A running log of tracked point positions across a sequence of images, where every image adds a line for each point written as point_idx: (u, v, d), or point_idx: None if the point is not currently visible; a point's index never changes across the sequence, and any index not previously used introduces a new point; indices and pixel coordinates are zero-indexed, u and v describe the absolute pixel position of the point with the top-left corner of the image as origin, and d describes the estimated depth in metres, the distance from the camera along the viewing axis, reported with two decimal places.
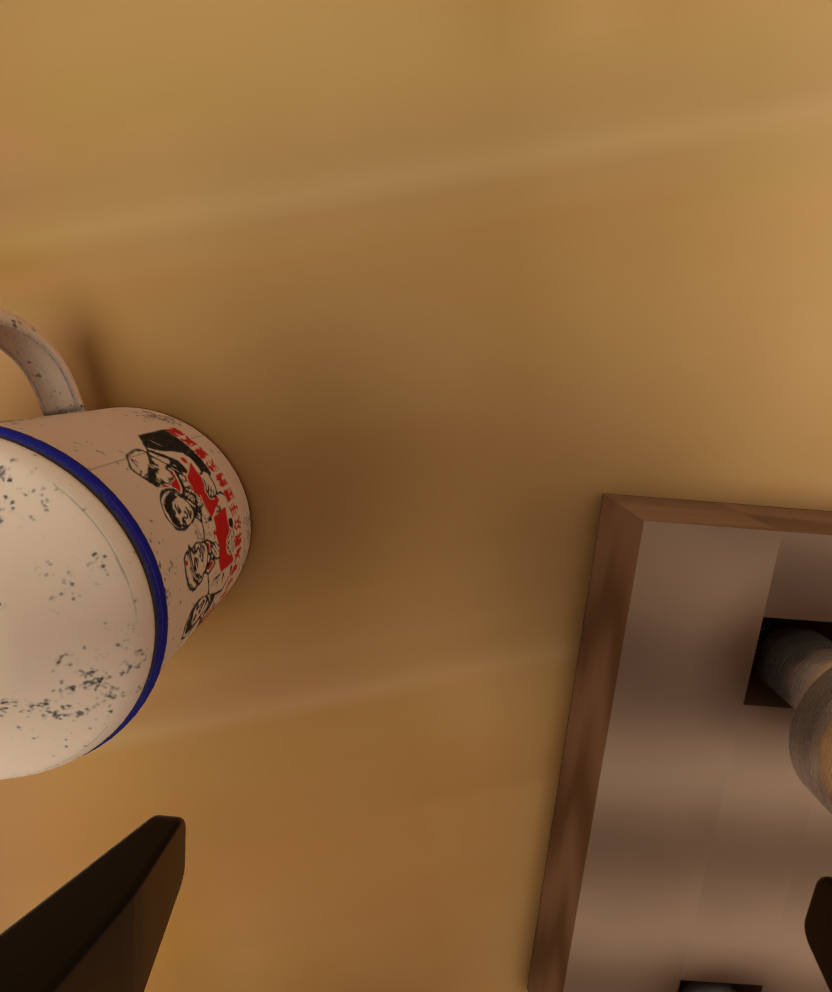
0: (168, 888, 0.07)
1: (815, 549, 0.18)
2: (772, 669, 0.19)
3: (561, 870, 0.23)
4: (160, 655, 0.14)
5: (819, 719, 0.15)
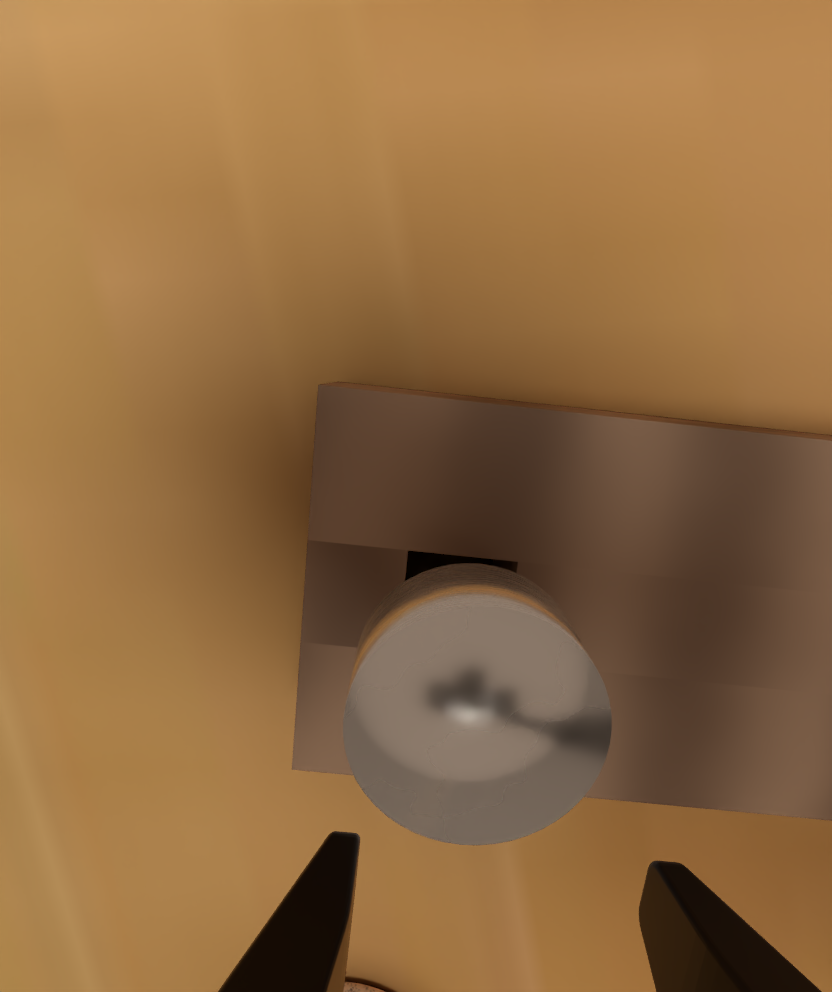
0: None
1: (320, 606, 0.17)
2: None
3: None
4: None
5: None
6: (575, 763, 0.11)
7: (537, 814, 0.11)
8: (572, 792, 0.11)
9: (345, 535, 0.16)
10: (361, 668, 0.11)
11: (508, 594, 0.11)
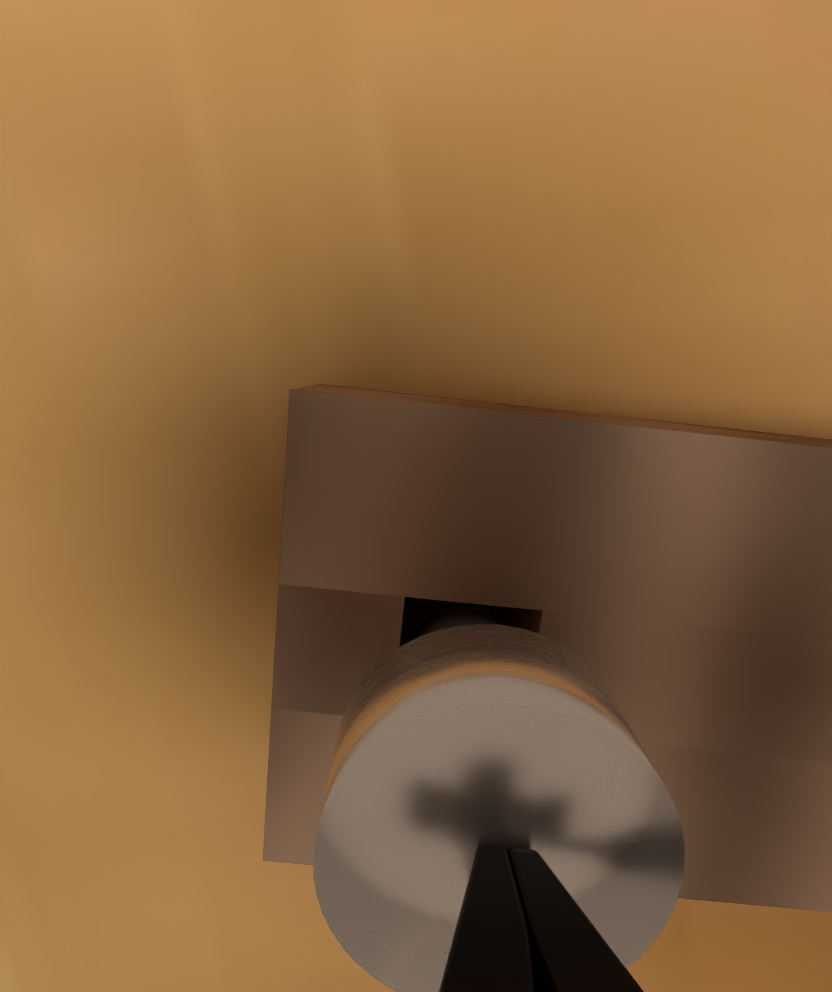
0: None
1: (295, 665, 0.13)
2: None
3: None
4: None
5: None
6: (633, 911, 0.08)
7: None
8: (627, 948, 0.08)
9: (326, 578, 0.13)
10: (337, 787, 0.08)
11: (540, 679, 0.08)
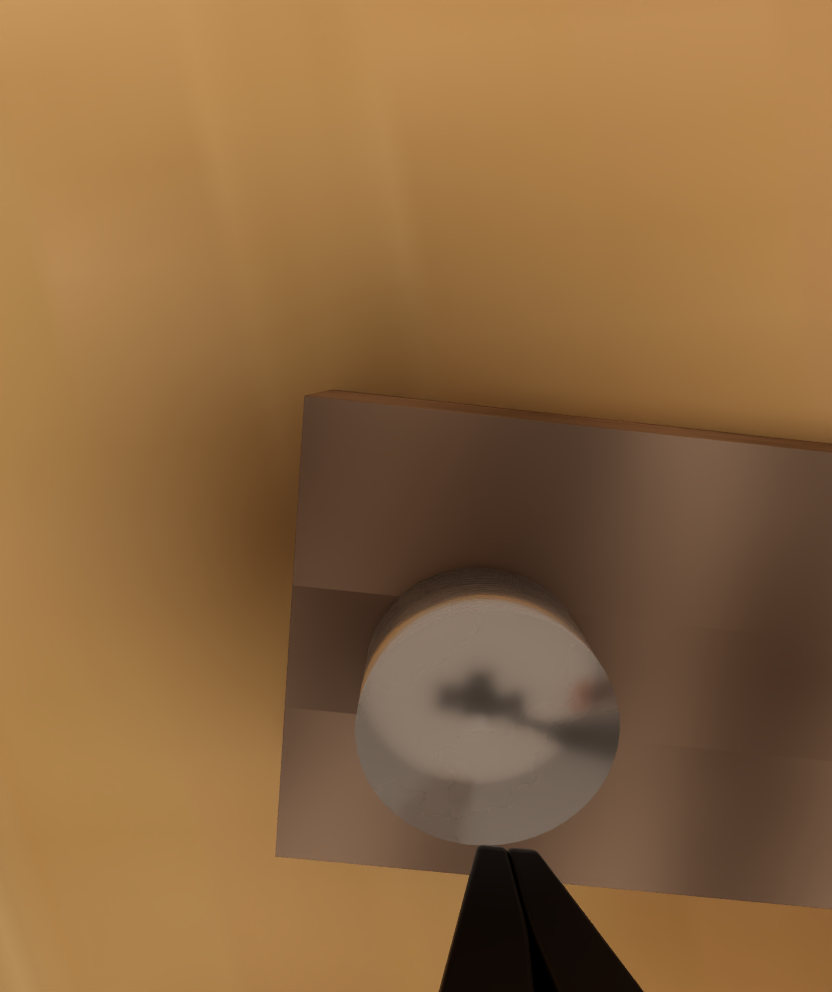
0: None
1: (308, 665, 0.14)
2: None
3: None
4: None
5: None
6: (583, 765, 0.11)
7: (546, 815, 0.12)
8: (580, 794, 0.11)
9: (338, 579, 0.13)
10: (373, 671, 0.11)
11: (517, 598, 0.11)
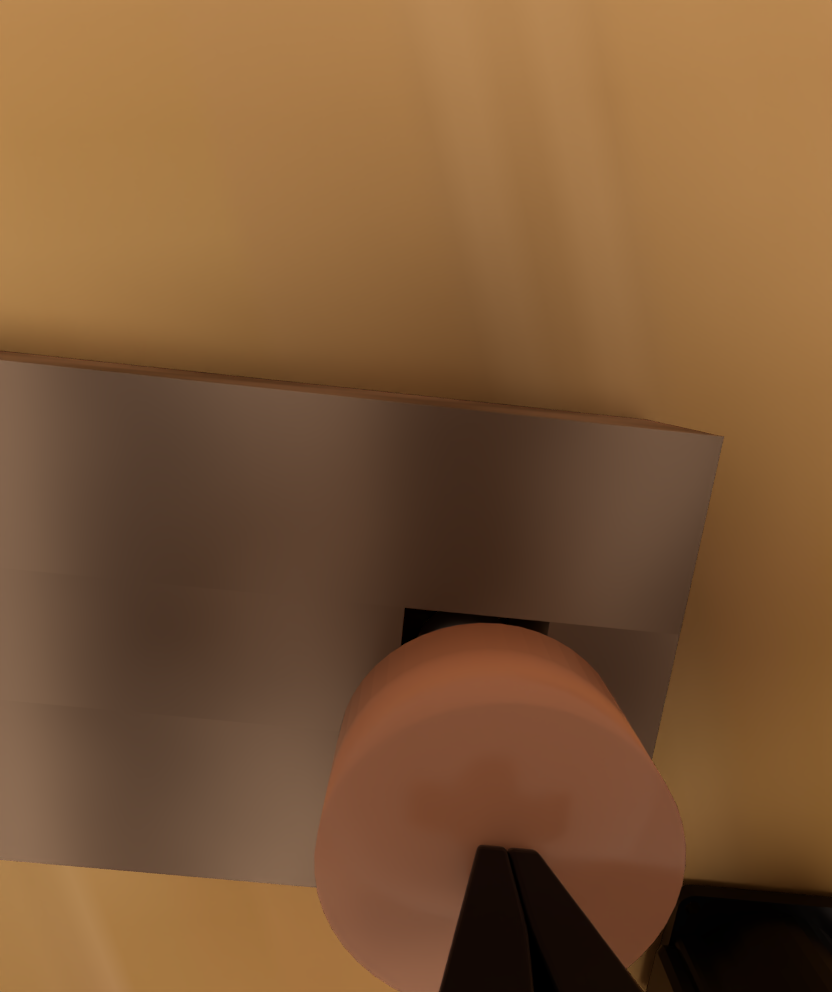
0: None
1: None
2: None
3: None
4: None
5: None
6: None
7: None
8: None
9: None
10: None
11: None
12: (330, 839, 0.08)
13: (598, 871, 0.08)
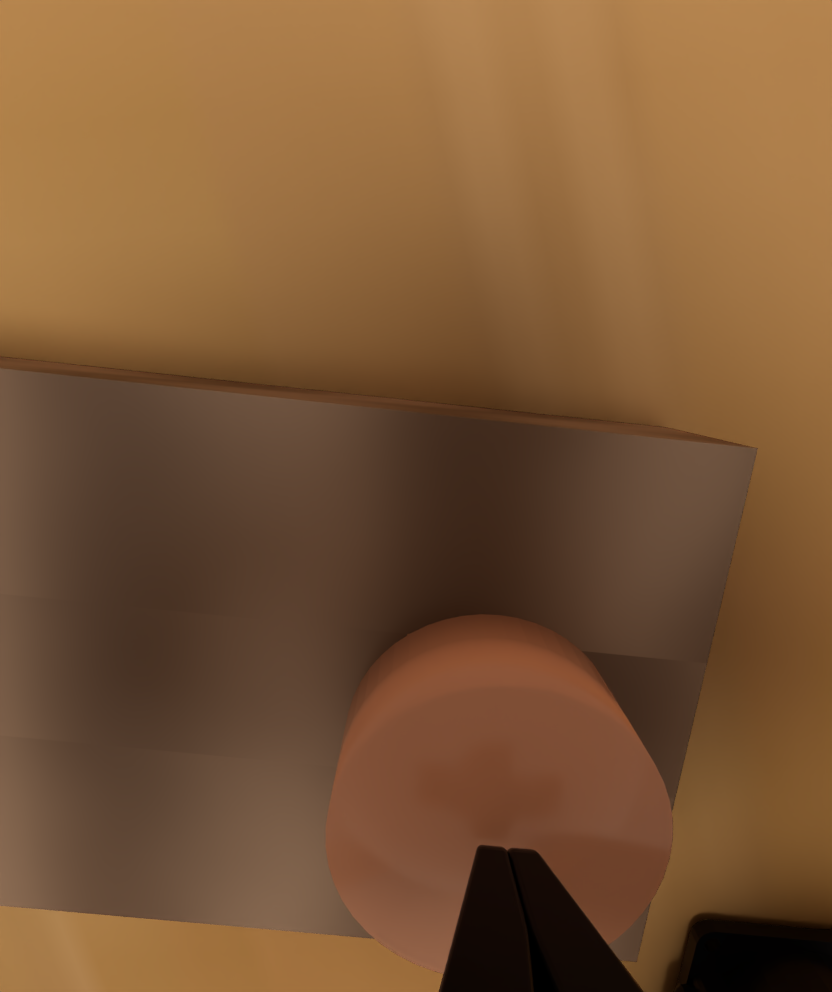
0: None
1: None
2: None
3: None
4: None
5: None
6: None
7: None
8: None
9: None
10: None
11: None
12: (340, 814, 0.08)
13: (591, 845, 0.09)
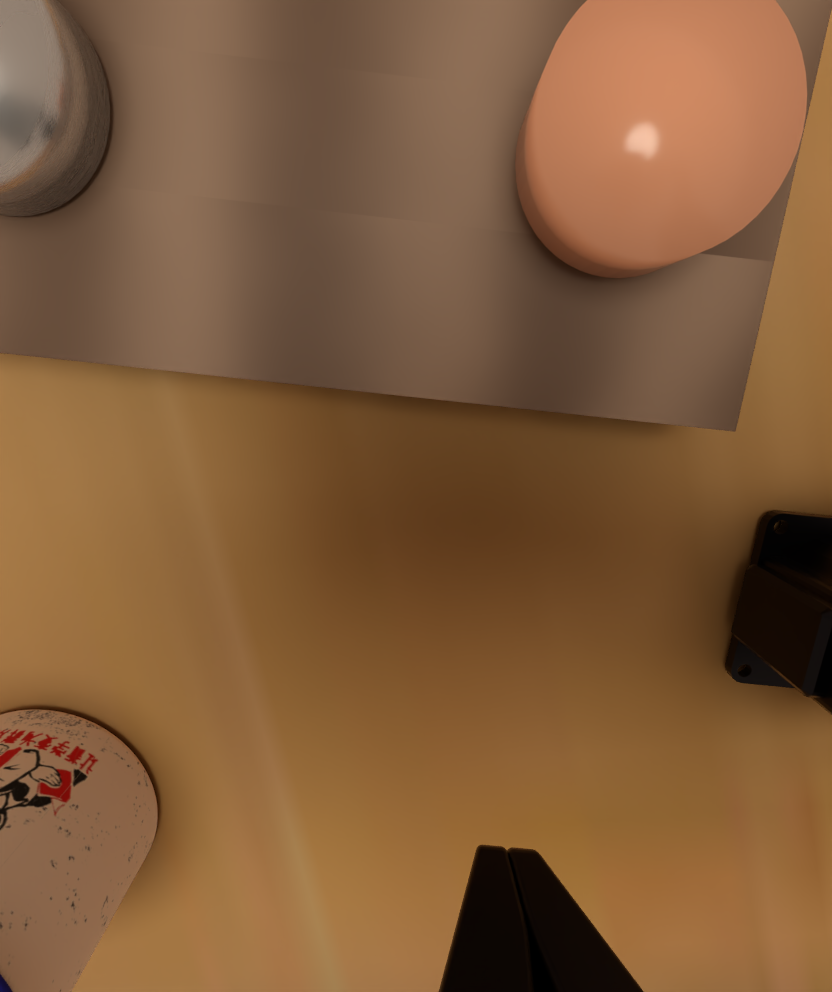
0: None
1: None
2: None
3: None
4: None
5: None
6: (18, 83, 0.12)
7: None
8: (22, 119, 0.12)
9: None
10: None
11: None
12: (550, 86, 0.11)
13: (742, 117, 0.11)
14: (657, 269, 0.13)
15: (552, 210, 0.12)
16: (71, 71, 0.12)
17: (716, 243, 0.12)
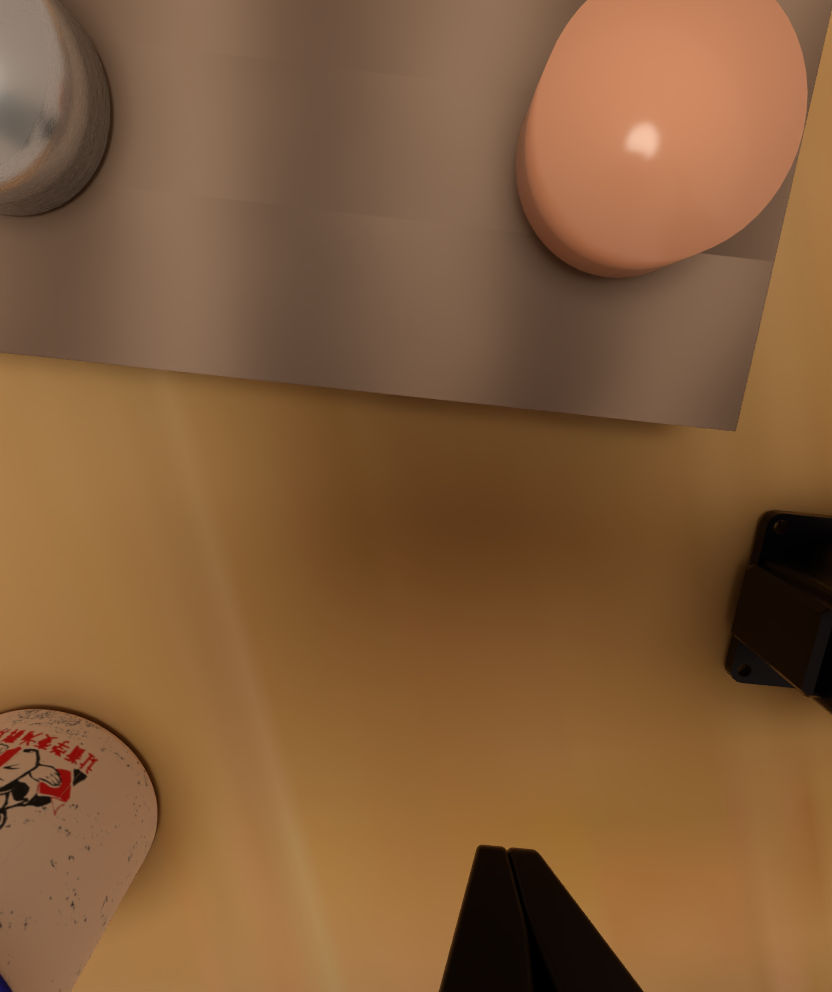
0: None
1: None
2: None
3: None
4: None
5: None
6: (18, 82, 0.12)
7: None
8: (22, 119, 0.12)
9: None
10: None
11: None
12: (550, 86, 0.11)
13: (743, 117, 0.11)
14: (657, 269, 0.13)
15: (552, 210, 0.12)
16: (71, 70, 0.12)
17: (716, 243, 0.12)
